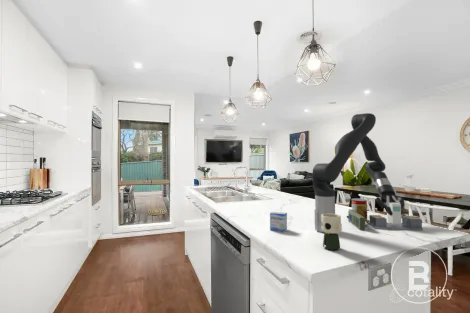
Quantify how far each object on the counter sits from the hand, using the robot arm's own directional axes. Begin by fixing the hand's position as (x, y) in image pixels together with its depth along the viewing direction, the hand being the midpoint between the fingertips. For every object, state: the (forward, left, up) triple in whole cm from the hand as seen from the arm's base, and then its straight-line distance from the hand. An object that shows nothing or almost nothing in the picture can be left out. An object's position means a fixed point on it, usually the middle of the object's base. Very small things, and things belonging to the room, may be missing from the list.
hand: (396, 214), depth 119 cm
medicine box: (-60, -11, -7) cm, 61 cm away
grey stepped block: (-1, +2, -7) cm, 7 cm away
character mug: (-40, -34, -7) cm, 53 cm away
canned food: (-13, +15, -7) cm, 21 cm away
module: (0, +2, -5) cm, 5 cm away
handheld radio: (-18, +6, -7) cm, 21 cm away
